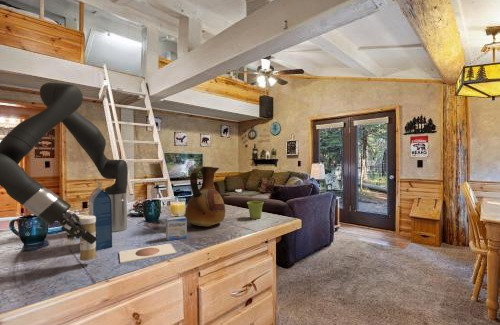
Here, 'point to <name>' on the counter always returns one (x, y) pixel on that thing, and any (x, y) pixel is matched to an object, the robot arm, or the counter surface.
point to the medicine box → (176, 228)
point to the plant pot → (255, 209)
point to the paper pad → (146, 253)
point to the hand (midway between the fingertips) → (94, 239)
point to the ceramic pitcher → (204, 199)
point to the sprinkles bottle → (85, 247)
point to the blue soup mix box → (101, 217)
